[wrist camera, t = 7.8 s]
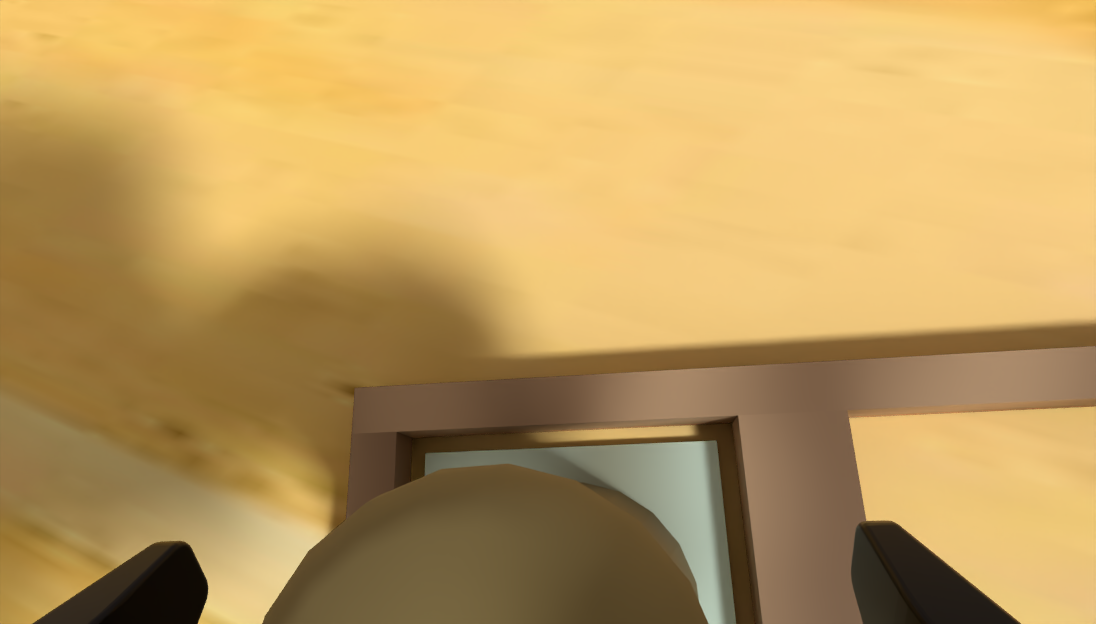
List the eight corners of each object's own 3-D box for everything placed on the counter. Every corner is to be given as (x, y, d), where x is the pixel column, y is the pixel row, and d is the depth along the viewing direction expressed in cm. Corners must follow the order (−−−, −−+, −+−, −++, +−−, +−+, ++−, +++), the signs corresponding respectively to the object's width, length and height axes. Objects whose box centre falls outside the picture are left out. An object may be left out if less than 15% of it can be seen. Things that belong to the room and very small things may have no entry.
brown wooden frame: (344, 869, 15) (320, 896, 14) (372, 396, 19) (355, 387, 17) (1457, 910, 12) (1539, 948, 11) (1247, 349, 16) (1293, 334, 15)
